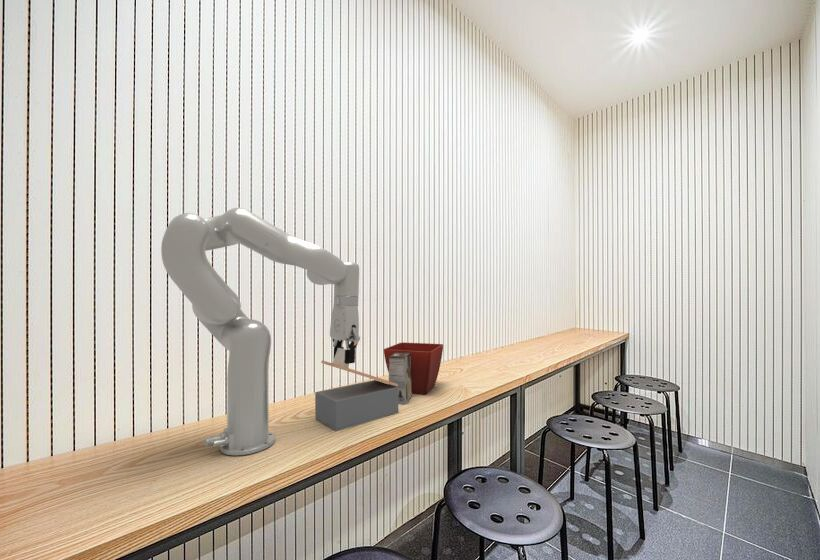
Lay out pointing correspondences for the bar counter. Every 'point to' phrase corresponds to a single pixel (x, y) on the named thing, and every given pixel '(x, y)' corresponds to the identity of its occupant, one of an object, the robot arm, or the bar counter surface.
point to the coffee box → (401, 375)
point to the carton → (355, 404)
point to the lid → (340, 363)
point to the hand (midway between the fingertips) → (343, 361)
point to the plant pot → (420, 363)
